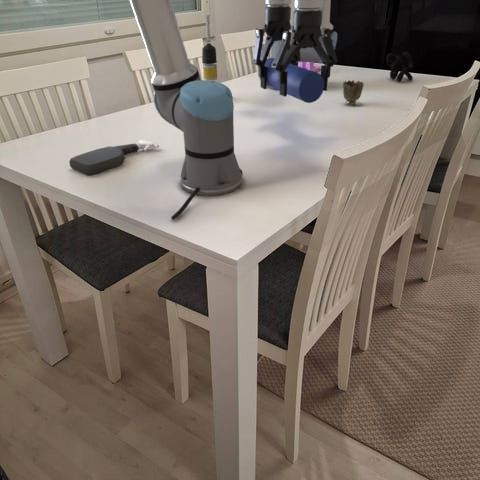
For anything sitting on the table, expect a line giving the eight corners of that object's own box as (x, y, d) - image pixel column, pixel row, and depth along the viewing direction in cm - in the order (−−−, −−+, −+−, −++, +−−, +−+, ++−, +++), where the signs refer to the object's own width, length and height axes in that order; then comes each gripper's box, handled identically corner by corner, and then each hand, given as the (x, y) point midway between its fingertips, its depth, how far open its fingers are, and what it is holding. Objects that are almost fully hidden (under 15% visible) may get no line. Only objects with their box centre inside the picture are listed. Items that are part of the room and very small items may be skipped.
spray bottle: (67, 168, 120) (139, 144, 136) (91, 178, 114) (163, 151, 130) (65, 157, 118) (137, 134, 134) (89, 167, 112) (162, 142, 128)
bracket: (309, 74, 214) (310, 58, 210) (299, 72, 217) (300, 57, 213) (322, 69, 223) (323, 54, 219) (312, 68, 225) (313, 53, 222)
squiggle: (400, 92, 202) (376, 71, 205) (417, 76, 202) (392, 56, 205) (405, 81, 191) (380, 59, 194) (423, 64, 191) (397, 42, 194)
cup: (338, 105, 167) (340, 83, 162) (344, 100, 172) (346, 79, 168) (358, 107, 164) (360, 85, 159) (363, 103, 169) (366, 81, 165)
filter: (220, 99, 177) (217, 15, 161) (206, 100, 176) (202, 16, 160) (215, 96, 182) (212, 14, 166) (202, 97, 180) (197, 14, 164)
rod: (323, 100, 127) (325, 70, 123) (298, 104, 124) (299, 73, 120) (281, 83, 146) (281, 56, 141) (258, 86, 143) (258, 59, 139)
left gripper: (338, 6, 124) (331, 84, 135) (259, 10, 115) (258, 94, 126) (355, 7, 118) (346, 90, 129) (273, 13, 109) (271, 101, 121)
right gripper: (302, 2, 136) (298, 80, 148) (239, 6, 128) (240, 87, 140) (316, 4, 130) (310, 84, 142) (251, 8, 122) (251, 93, 134)
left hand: (303, 92), depth 128 cm, fingers open, 13 cm apart
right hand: (276, 86), depth 141 cm, fingers closed on rod, 8 cm apart
